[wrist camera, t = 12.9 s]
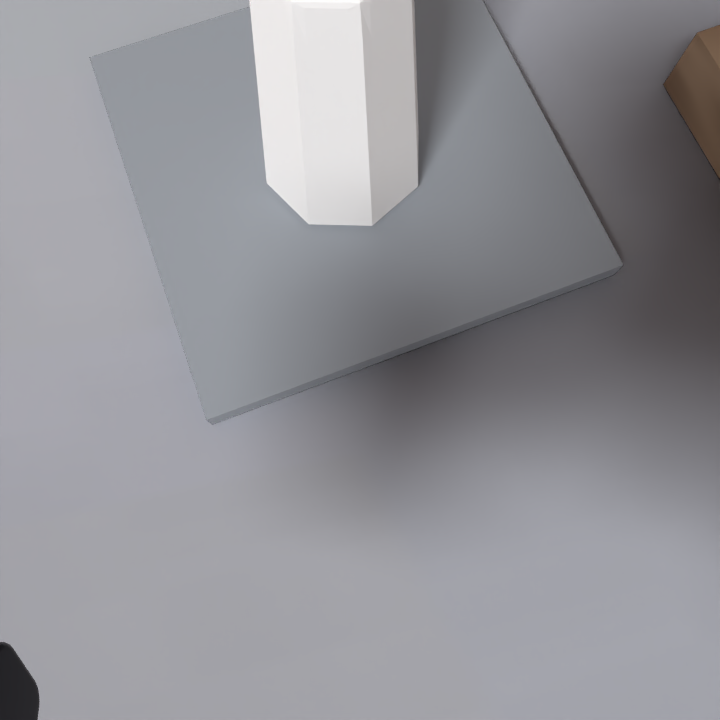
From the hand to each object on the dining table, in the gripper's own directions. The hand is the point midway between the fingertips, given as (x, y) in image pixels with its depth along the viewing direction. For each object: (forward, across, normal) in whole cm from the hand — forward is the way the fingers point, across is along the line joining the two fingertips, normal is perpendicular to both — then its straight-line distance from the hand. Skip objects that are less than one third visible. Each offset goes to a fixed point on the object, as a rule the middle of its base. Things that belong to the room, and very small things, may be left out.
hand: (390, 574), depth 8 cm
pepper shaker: (+17, -2, -1) cm, 17 cm away
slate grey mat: (+18, -2, -1) cm, 18 cm away
